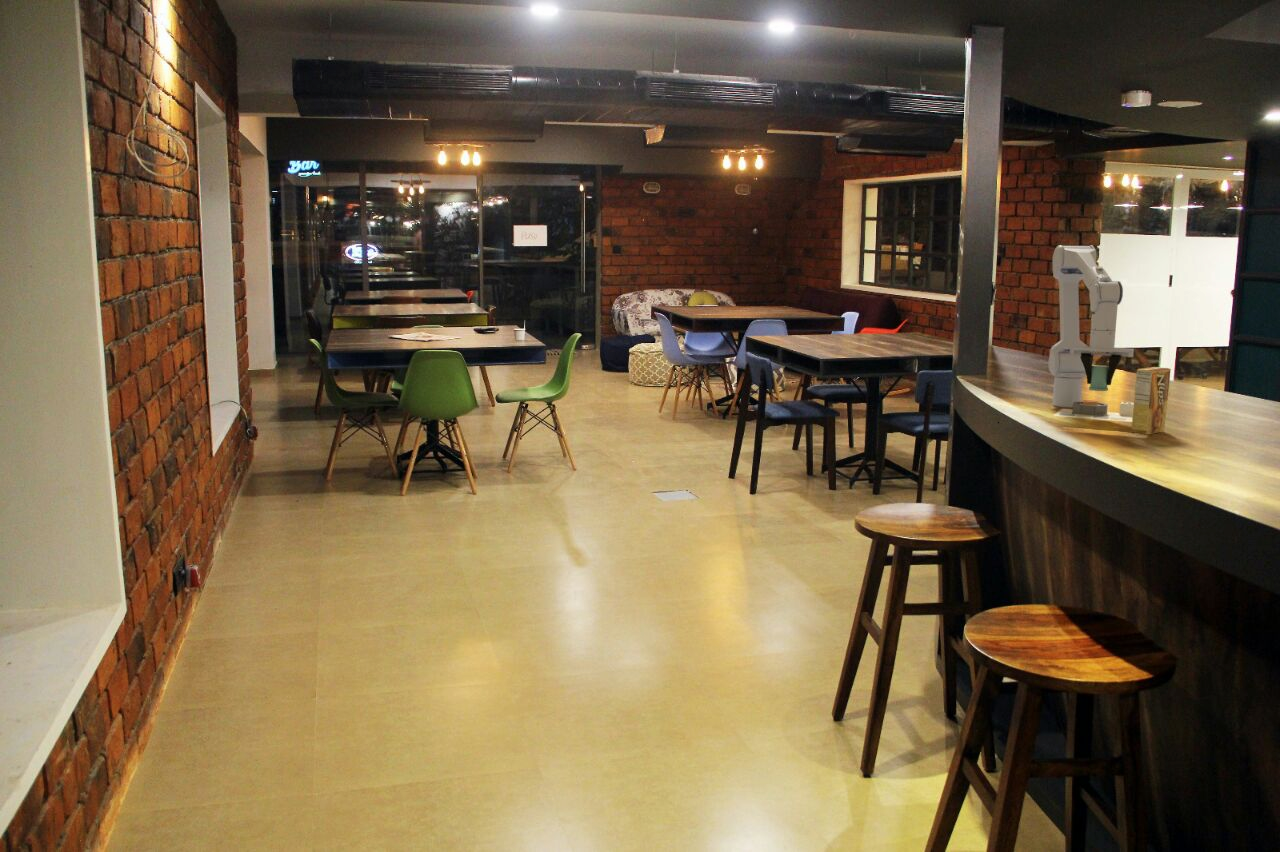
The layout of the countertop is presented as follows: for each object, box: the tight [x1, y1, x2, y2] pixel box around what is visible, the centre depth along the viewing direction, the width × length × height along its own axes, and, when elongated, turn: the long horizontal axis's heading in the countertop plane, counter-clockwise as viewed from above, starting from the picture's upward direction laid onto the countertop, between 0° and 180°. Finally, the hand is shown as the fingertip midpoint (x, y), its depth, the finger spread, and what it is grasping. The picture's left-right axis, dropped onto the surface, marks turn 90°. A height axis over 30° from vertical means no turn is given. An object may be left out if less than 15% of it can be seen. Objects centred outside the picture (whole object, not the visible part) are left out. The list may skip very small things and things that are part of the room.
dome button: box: [1081, 399, 1100, 406], centre depth 280 cm, size 6×6×2 cm
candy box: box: [1131, 366, 1172, 436], centre depth 255 cm, size 9×4×15 cm, turn 129°
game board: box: [1052, 401, 1134, 423], centre depth 276 cm, size 15×22×4 cm
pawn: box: [1088, 364, 1109, 392], centre depth 271 cm, size 4×4×6 cm
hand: (1099, 384), depth 272 cm, fingers closed on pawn, 4 cm apart
